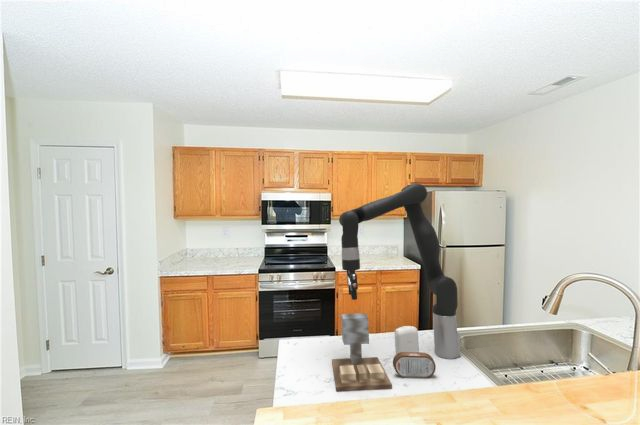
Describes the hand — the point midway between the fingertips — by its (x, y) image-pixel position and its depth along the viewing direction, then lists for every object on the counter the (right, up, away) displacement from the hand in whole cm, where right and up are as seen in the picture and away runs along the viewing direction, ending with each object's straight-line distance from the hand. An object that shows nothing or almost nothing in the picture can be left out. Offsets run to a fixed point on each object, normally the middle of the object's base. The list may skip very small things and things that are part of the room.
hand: (352, 296), depth 114 cm
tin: (+21, -25, -14) cm, 36 cm away
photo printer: (+24, -26, +2) cm, 35 cm away
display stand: (+1, -26, -12) cm, 28 cm away
